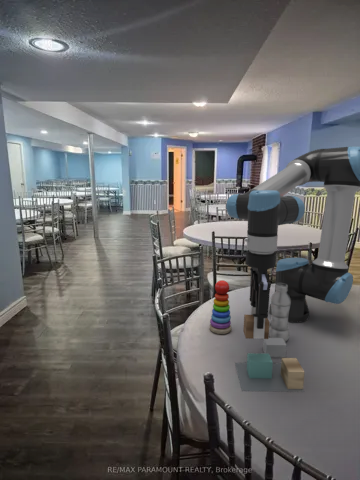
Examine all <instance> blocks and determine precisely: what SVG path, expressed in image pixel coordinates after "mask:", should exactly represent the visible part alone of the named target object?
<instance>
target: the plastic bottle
mask: <svg viewBox="0 0 360 480" xmlns="http://www.w3.org/2000/svg"><path fill="white" fill-rule="evenodd" d="M287 291H288V285H287V284H284V283H277V284H276V292H275V291H274V292H273V294H272V295H271V297H270V304H271V309H272V315H271V319H270V324H269V337H268V338H283V340H284V341H285V343H286V342H287V341H288V340H289V338H290V331H289V322H288V315H289V309H290V305H291V299H290V297H289V295H288V293H287Z"/></svg>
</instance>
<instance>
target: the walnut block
mask: <svg viewBox="0 0 360 480" xmlns="http://www.w3.org/2000/svg"><path fill="white" fill-rule="evenodd" d="M270 324H271V321H270V320H269V317H268V318H265V331H264V339H268V338H270V337H269V328H270ZM242 329H243V330H242V331H243V334H244V335H243V336H244V337H245V339H247V340H248V339H253V340H254V338H253V332H254V317H253V315H251V314H243V328H242Z"/></svg>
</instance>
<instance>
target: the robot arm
mask: <svg viewBox="0 0 360 480" xmlns="http://www.w3.org/2000/svg"><path fill="white" fill-rule="evenodd" d="M313 182H314V183H317V182H319V183H323V186H322V187H323V188H324V189H325V190H326V199H325V204H324V212H323V219H322V225H321V226H322V227H321V234H320V240H319V247H318V253H317V258H315V259H314V260H312V262H311V264H310V262H309V259H308V258H305V257H287V258H285V257H284V258H281V259H279V260H277V253H276V251H277V249H278V235H279V234H278V231H279V226H283V225H291V224H293V223H297V222H298V221H300V220H301V219H302V218H303V217H304V215H305V212H306V211H305V210H306V208H305V203H304V201H303V199H301V198H300V197H298V196H294V195H286V194H288V193H289V192H291V191H292V190H294V189H295V188H297V187H298V186H303V185H305V184H307V183H313ZM358 191H360V146H350V145H349V146H343V147H340V146H339V147H331V148H319V149H314V150H311V151H308V152H306V153H304V154H301V155H300V156H297V157H296V158H293V159H292V160H291V161H289V162H288V163H287V164H286V166H285V168H284V169H282V170H281V171H279V172H277V173H276V174H273V175H272V176H271V177H269V178H267V179H266V180H264V181H262V182H261V183H260V184H258V185H256V186H255V187H254V188H251V189H250V190H248V191H246V192H245V193H242V194H241V193H237V194H235V193H234V194H232V195H230V196H229V197H228V199H227V201H226V206H225V208H226V213H227V215H229V217H230V218H233V219H238V220H246V221H247V232H246V233H247V235H246V236H247V237H244V242H246V250H247V251H246V253H245V254H246V255H245V264H246V266H248V267H249V268H250V283H249V284H250V287H249V288H250V289H249V302H250V305H251V306H250V315H253V317H254V332H253V338H254V339H255V340H256V339H257V340H263V339H264V331H265V318H268V319H269V314H270V316H272V309H271V303H270V293H271V286H272V283H271V281H270V274H269V270H270V269H273V268H275V267H276V268H275V282H274V283H275V284H274V285H275V286H274V287H275V288H274V293H275V292H276V284H277V283H284V284H287V285H288V291H287V293H288V295H289V297H290V299H291V305H290V309H289V315H288V323H295V324H296V323H301V322H302V323H304V322H306V321H308V319H309V317H310V310H309V307H308V303H307V299H306V296H308V297H311V298H314V299H316V300H320V301H324V302H326V303H331V304H335V305H338V304H341V303H343V302H344V301H345V300H346V299H347V297H348V296H349V294H350V292H351V290H352V287H353V284H354V275H353V274H352V273H350V272H349V266H348V265H347V263H346V261H345V260H346V254H347V247H348V242H349V240H348V239H349V234H350V227H351V222H352V216H353V209H354V203H355V197H356V193H357V192H358ZM276 262H277V263H276ZM254 339H253V340H254Z"/></svg>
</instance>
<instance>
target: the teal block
mask: <svg viewBox="0 0 360 480" xmlns="http://www.w3.org/2000/svg"><path fill="white" fill-rule="evenodd" d="M246 363H247V372H248V375H249V378H269V379H272V365H273V363H274V362H273V360H272V357H270V355H269V354H264V353H250V352H249V353H247V355H246Z"/></svg>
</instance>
